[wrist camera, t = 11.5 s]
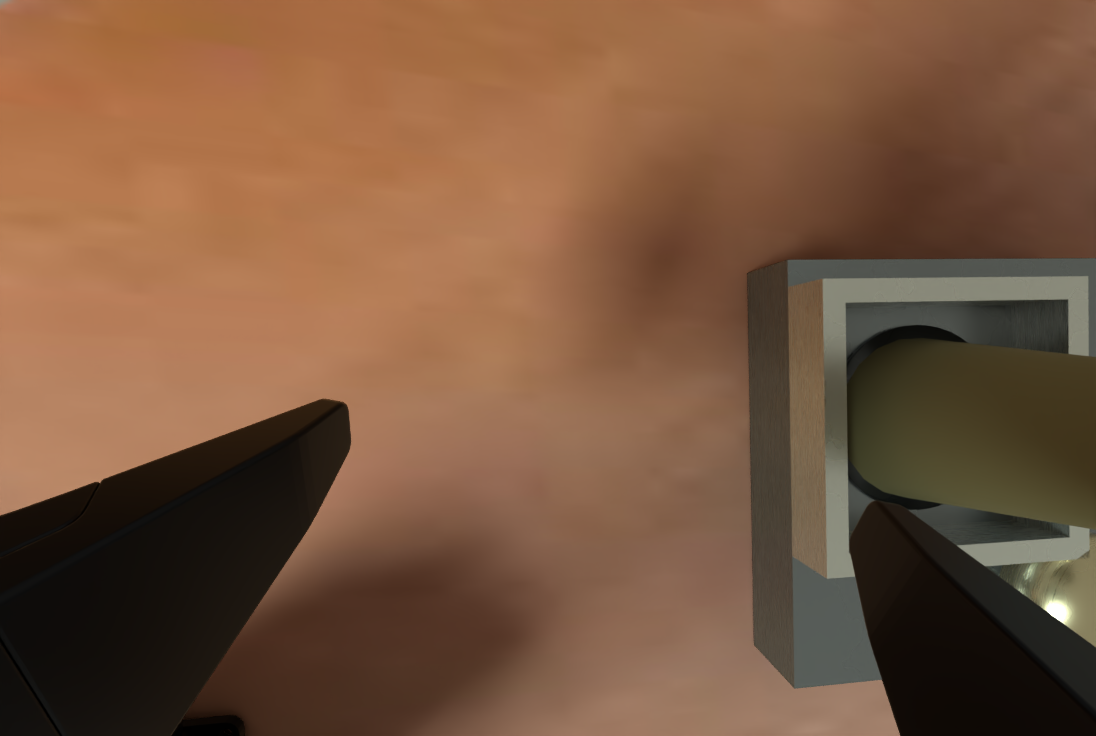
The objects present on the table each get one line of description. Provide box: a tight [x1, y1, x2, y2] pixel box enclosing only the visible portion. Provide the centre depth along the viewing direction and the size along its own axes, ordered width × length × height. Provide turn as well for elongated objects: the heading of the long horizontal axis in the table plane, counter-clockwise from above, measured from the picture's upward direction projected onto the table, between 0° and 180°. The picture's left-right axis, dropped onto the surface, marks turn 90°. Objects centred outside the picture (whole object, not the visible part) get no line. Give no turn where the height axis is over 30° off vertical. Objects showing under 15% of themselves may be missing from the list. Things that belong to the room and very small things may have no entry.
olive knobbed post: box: [847, 338, 1096, 530], centre depth 14 cm, size 6×6×11 cm
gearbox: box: [747, 258, 1096, 689], centre depth 21 cm, size 16×14×5 cm
